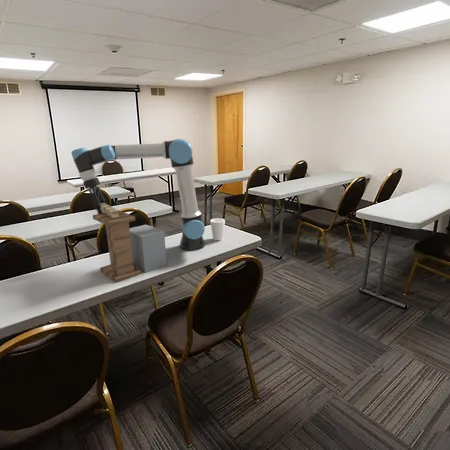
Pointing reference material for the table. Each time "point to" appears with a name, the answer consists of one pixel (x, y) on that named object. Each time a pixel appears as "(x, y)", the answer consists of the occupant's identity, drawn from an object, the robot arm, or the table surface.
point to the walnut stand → (118, 246)
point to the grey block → (148, 247)
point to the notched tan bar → (109, 210)
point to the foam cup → (217, 228)
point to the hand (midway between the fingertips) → (105, 217)
